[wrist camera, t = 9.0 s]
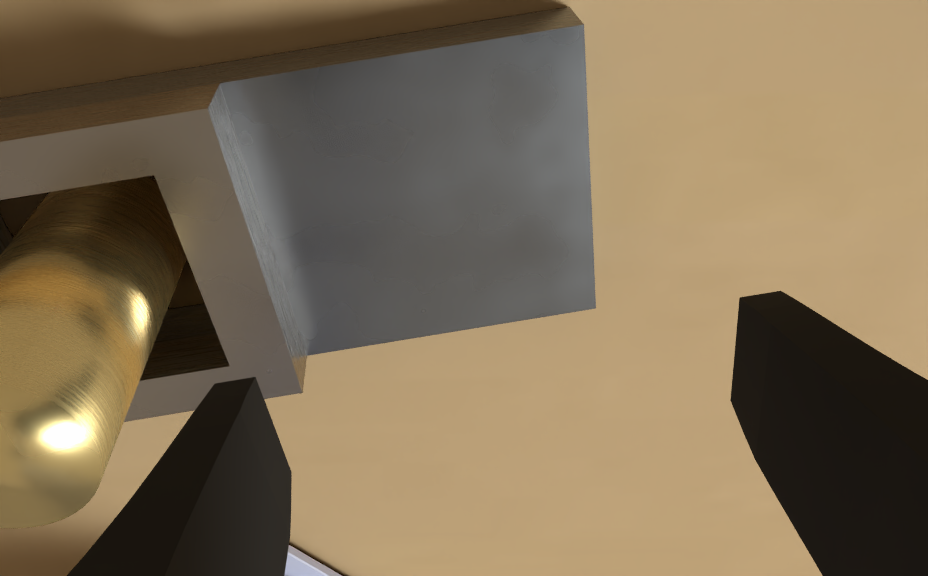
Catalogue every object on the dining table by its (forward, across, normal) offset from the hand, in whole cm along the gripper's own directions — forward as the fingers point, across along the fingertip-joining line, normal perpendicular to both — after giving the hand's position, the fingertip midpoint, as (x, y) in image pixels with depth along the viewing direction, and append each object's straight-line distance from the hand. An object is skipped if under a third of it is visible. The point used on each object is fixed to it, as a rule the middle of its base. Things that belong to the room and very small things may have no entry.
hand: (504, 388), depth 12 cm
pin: (+9, +9, +1) cm, 13 cm away
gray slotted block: (+9, +9, +1) cm, 13 cm away
